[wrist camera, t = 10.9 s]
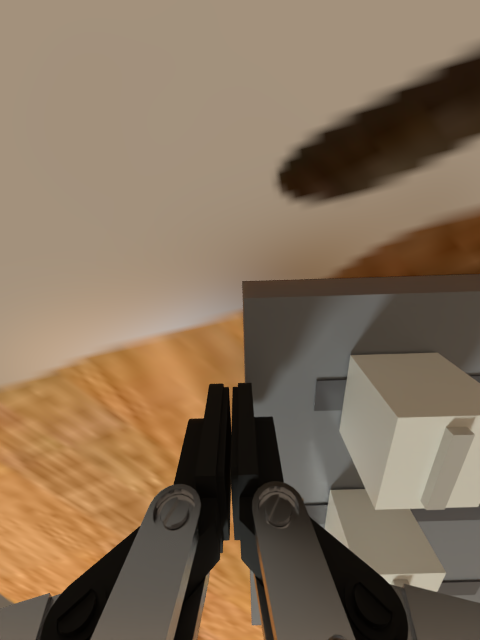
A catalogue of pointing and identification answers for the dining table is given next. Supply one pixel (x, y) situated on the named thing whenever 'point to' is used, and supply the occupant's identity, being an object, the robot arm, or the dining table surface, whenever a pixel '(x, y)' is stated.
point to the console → (331, 375)
